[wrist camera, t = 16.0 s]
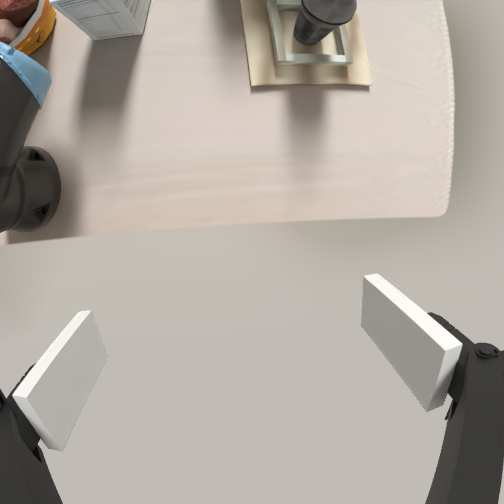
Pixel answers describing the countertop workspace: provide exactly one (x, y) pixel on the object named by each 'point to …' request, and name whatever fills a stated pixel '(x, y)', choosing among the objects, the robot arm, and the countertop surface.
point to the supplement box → (105, 16)
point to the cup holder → (300, 48)
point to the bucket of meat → (25, 23)
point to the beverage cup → (321, 19)
